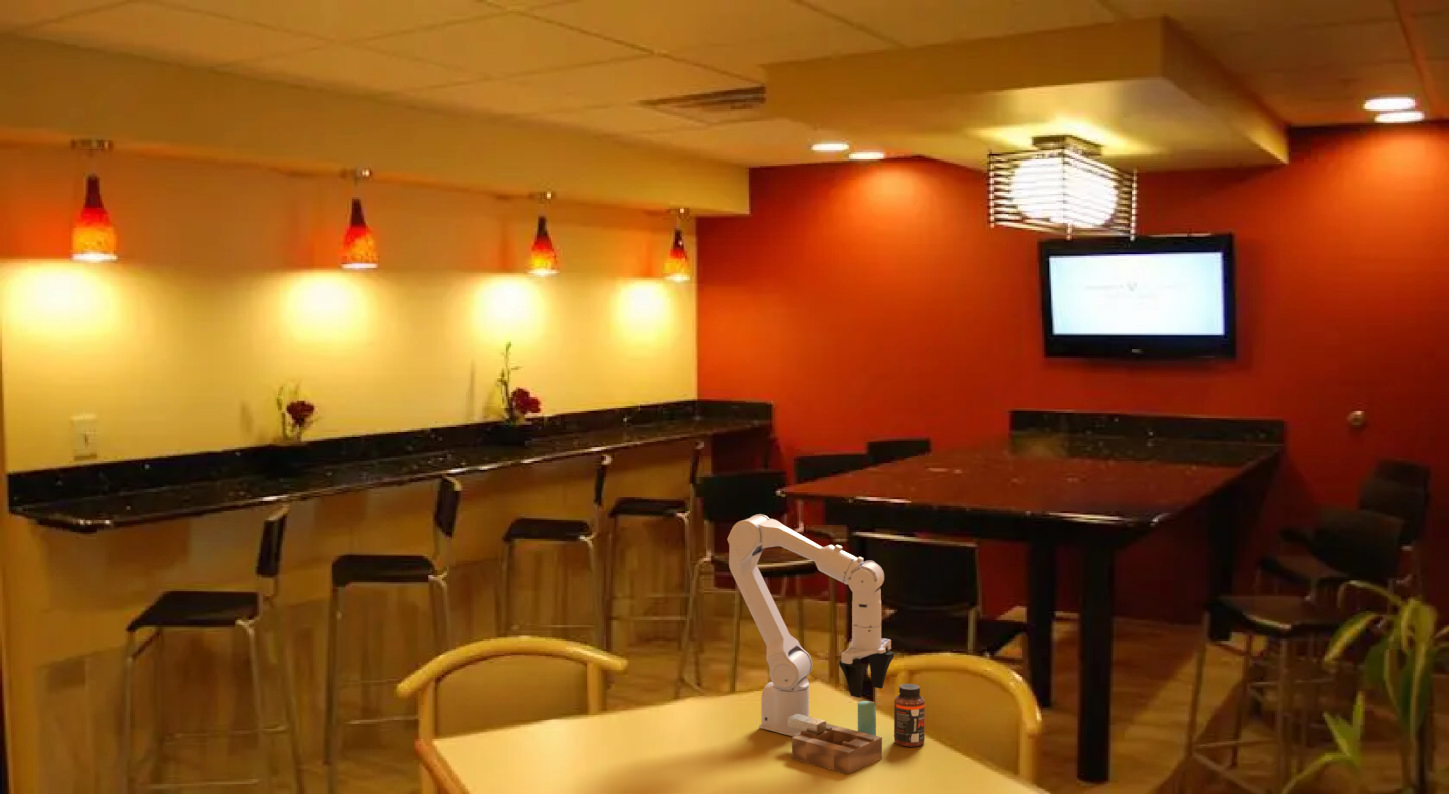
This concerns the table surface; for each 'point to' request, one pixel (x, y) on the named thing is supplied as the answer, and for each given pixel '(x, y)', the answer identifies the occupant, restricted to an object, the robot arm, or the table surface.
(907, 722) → the supplement bottle
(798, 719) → the tan rectangular block
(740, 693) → the table surface
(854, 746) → the dock
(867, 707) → the peg
